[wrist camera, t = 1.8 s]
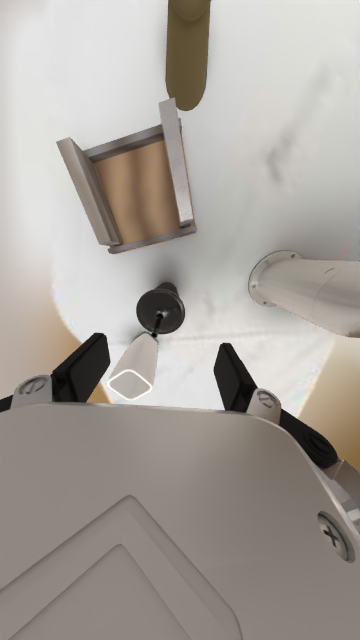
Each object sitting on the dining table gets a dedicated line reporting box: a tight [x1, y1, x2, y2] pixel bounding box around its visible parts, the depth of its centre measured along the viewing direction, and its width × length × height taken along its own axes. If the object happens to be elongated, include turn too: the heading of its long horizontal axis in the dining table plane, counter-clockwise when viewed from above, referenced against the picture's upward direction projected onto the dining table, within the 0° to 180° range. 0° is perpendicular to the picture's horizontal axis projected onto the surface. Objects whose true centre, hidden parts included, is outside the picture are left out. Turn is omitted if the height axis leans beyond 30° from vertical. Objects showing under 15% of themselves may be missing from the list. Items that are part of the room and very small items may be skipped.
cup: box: [107, 333, 158, 400], centre depth 33 cm, size 7×7×15 cm
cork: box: [166, 0, 211, 111], centre depth 15 cm, size 6×6×11 cm
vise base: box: [56, 118, 197, 254], centre depth 23 cm, size 18×14×7 cm
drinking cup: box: [136, 283, 185, 338], centre depth 24 cm, size 8×8×20 cm
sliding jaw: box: [159, 97, 193, 229], centre depth 21 cm, size 2×12×6 cm, turn 13°
